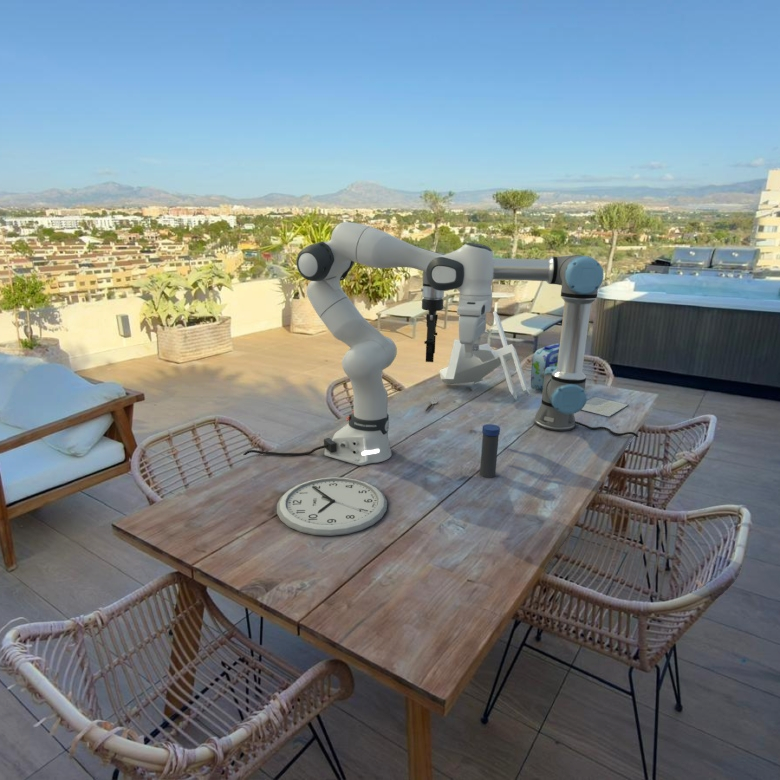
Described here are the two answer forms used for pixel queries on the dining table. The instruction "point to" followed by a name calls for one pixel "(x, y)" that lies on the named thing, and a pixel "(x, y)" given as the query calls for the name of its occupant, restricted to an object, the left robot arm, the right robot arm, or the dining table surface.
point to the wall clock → (331, 506)
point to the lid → (491, 430)
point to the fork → (432, 403)
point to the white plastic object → (482, 363)
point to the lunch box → (543, 364)
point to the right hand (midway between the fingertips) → (430, 357)
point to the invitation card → (603, 406)
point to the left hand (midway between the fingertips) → (472, 354)
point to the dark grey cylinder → (489, 456)
